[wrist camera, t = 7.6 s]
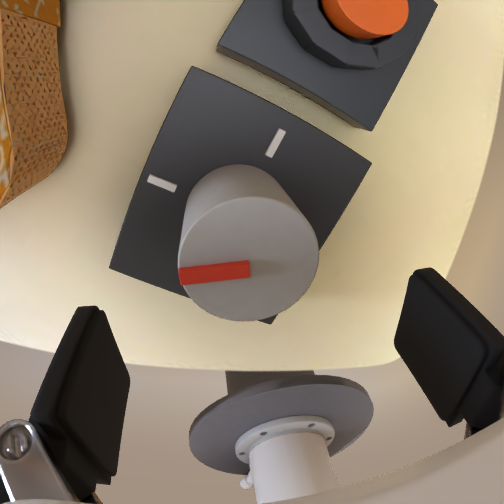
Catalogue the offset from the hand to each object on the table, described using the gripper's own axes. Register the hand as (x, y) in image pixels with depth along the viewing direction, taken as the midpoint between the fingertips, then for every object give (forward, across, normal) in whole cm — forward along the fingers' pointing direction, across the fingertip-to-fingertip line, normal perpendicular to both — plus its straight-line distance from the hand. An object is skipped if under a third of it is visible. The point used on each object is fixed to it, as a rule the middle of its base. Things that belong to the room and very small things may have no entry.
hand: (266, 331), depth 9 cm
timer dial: (+8, 0, -1) cm, 8 cm away
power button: (+7, -6, -11) cm, 14 cm away
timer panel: (+11, 0, -1) cm, 11 cm away
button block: (+10, -6, -11) cm, 17 cm away
